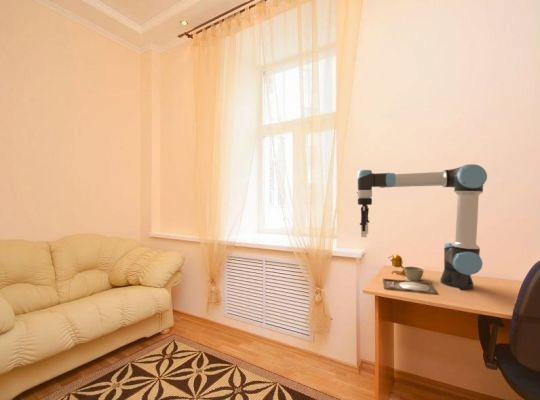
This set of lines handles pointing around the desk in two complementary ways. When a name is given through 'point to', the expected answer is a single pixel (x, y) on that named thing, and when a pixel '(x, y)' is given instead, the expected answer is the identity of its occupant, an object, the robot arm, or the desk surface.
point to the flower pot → (413, 273)
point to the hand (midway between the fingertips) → (364, 235)
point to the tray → (396, 287)
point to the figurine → (397, 264)
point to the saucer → (414, 286)
